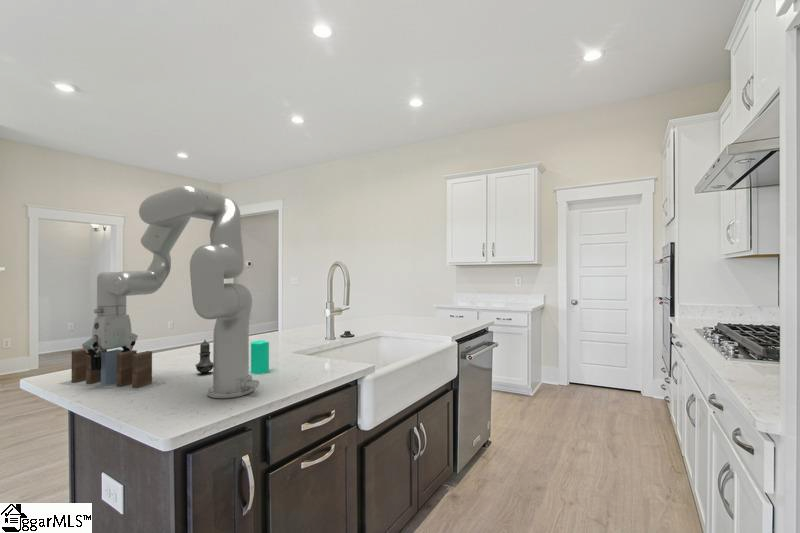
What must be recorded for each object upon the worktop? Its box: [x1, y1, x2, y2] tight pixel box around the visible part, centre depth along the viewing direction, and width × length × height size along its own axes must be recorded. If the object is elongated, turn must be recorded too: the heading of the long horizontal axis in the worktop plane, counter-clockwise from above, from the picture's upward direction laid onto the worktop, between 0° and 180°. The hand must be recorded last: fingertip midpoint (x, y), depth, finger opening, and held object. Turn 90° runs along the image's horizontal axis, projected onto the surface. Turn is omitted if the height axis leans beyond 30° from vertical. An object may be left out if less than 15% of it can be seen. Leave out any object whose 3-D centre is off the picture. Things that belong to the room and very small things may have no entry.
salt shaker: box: [195, 339, 213, 377], centre depth 136 cm, size 6×6×12 cm
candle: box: [250, 339, 270, 375], centre depth 140 cm, size 6×6×12 cm
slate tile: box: [101, 348, 122, 386], centre depth 125 cm, size 2×5×10 cm, turn 165°
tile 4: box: [86, 350, 108, 384], centre depth 127 cm, size 2×5×10 cm, turn 165°
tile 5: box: [70, 348, 93, 383], centre depth 128 cm, size 2×5×10 cm, turn 166°
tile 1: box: [132, 350, 153, 388], centre depth 122 cm, size 2×5×10 cm, turn 165°
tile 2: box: [116, 349, 138, 387], centre depth 123 cm, size 2×5×10 cm, turn 166°
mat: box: [57, 379, 164, 392], centre depth 125 cm, size 32×9×1 cm, turn 75°
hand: (111, 366), depth 125 cm, fingers open, 9 cm apart
